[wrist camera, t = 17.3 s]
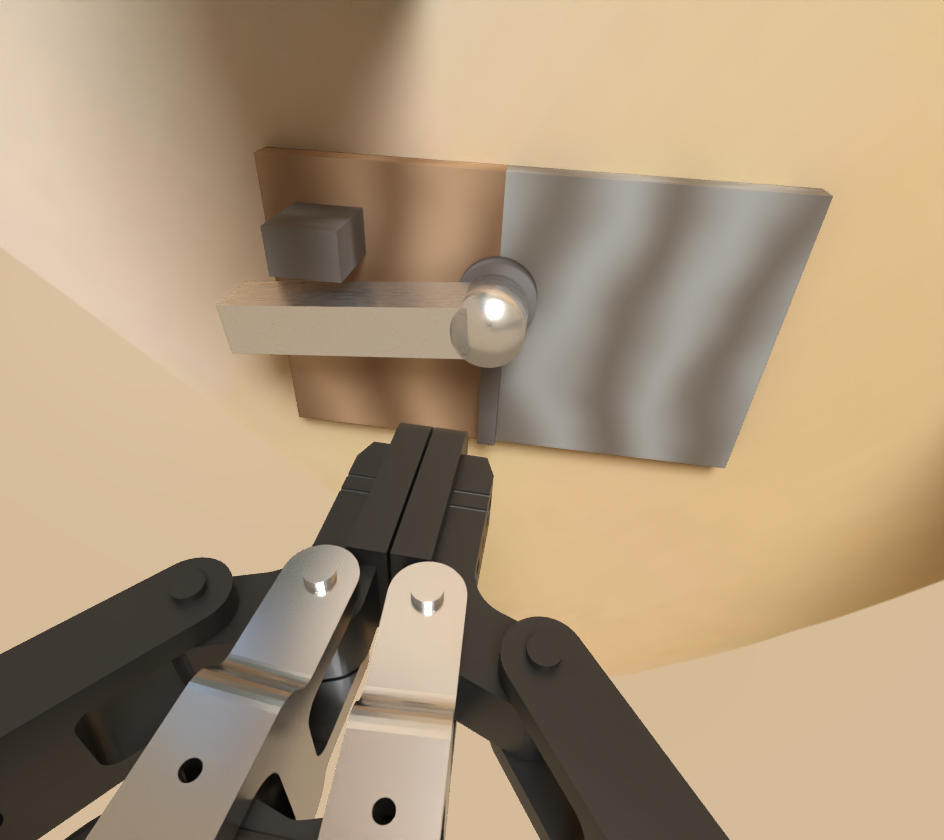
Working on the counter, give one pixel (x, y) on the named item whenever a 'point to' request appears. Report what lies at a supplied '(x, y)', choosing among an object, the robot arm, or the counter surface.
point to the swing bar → (380, 319)
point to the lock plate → (551, 295)
